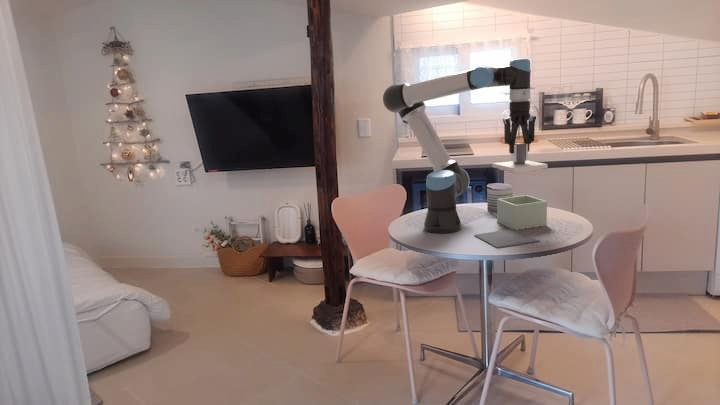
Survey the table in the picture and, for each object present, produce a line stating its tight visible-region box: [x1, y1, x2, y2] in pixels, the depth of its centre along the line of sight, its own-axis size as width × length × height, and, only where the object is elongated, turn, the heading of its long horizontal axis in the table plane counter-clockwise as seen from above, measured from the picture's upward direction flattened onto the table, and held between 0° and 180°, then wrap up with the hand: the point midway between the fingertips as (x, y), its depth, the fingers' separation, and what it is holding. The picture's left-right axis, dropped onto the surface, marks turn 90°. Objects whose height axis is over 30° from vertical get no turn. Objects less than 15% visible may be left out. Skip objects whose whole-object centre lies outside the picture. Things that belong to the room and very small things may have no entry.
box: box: [496, 194, 548, 231], centre depth 199 cm, size 14×14×10 cm
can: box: [486, 182, 514, 214], centre depth 223 cm, size 11×11×12 cm
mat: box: [474, 228, 540, 249], centre depth 182 cm, size 17×17×1 cm
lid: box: [491, 142, 548, 174], centre depth 192 cm, size 15×15×10 cm
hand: (519, 160), depth 193 cm, fingers closed on lid, 4 cm apart
